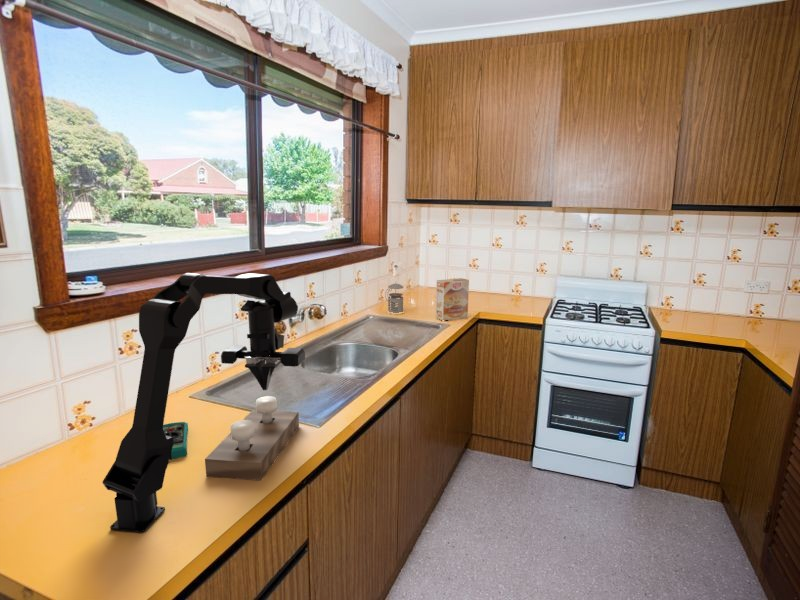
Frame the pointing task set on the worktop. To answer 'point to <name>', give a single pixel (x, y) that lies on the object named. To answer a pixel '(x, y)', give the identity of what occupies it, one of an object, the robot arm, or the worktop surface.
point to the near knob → (243, 433)
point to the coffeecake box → (452, 299)
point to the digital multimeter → (177, 438)
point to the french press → (393, 298)
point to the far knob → (266, 408)
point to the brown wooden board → (253, 448)
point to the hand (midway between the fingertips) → (265, 389)
